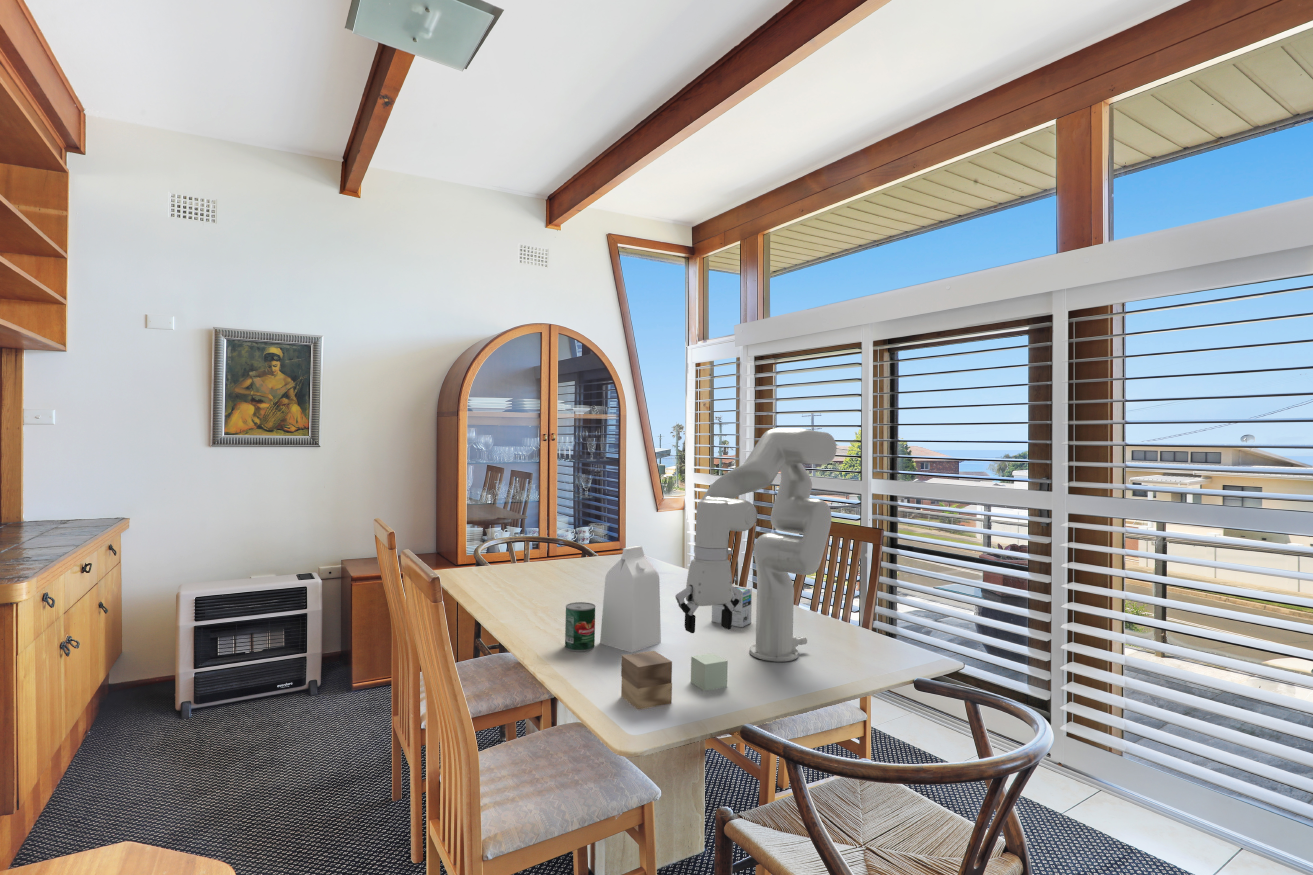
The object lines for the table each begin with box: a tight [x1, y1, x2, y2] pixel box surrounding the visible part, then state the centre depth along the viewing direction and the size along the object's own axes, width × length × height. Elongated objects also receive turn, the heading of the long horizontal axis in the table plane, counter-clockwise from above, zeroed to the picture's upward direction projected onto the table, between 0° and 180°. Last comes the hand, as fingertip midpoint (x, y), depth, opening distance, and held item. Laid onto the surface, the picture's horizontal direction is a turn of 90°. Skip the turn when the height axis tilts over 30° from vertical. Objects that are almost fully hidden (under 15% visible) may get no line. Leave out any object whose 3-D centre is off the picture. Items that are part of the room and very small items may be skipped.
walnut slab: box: [620, 650, 673, 689], centre depth 144 cm, size 8×8×4 cm
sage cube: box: [690, 652, 729, 692], centre depth 153 cm, size 6×6×6 cm
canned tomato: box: [564, 601, 597, 653], centre depth 178 cm, size 8×8×11 cm
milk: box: [599, 545, 662, 654], centre depth 183 cm, size 12×12×26 cm
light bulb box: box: [711, 585, 753, 628], centre depth 206 cm, size 11×7×11 cm, turn 58°
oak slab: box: [620, 677, 673, 711], centre depth 144 cm, size 8×8×4 cm
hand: (708, 629), depth 153 cm, fingers open, 9 cm apart
